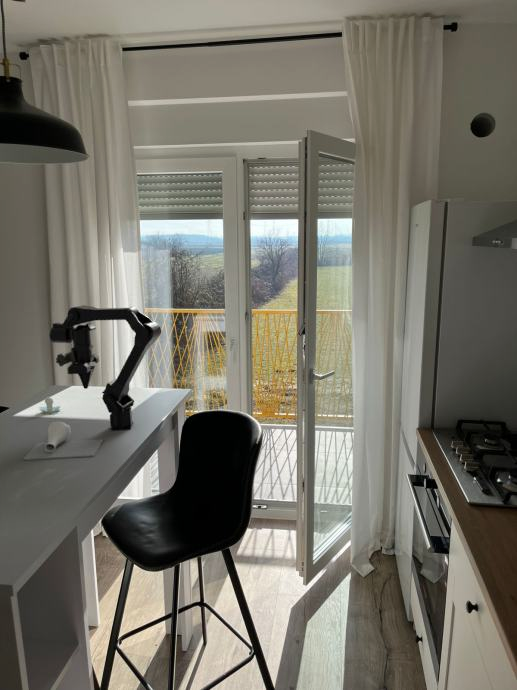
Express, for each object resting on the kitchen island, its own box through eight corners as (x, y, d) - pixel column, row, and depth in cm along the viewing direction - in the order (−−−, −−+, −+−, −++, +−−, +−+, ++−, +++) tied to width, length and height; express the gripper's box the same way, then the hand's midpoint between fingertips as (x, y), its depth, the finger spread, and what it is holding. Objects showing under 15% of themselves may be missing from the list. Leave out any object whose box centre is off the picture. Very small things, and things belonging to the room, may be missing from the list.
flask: (46, 437, 168) (35, 455, 158) (50, 418, 165) (39, 434, 156) (69, 443, 169) (60, 460, 160) (73, 423, 167) (64, 440, 157)
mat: (103, 440, 168) (102, 439, 168) (93, 456, 156) (93, 455, 156) (38, 443, 167) (37, 442, 167) (23, 460, 154) (23, 458, 154)
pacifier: (43, 410, 202) (38, 415, 196) (42, 394, 201) (36, 398, 196) (63, 409, 203) (58, 414, 197) (61, 393, 202) (57, 397, 196)
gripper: (65, 339, 187) (69, 382, 190) (49, 349, 169) (53, 397, 172) (97, 338, 188) (100, 381, 191) (84, 348, 170) (88, 395, 173)
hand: (85, 388), depth 182 cm, fingers closed
